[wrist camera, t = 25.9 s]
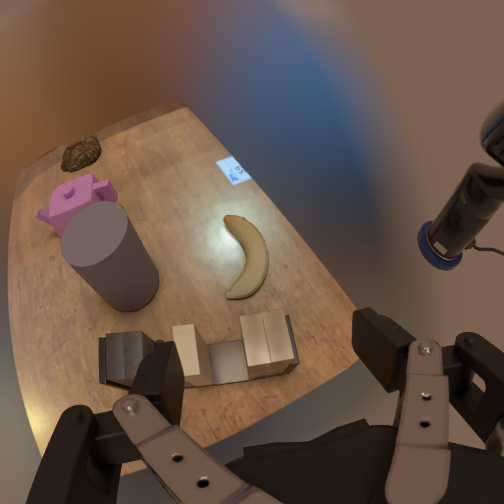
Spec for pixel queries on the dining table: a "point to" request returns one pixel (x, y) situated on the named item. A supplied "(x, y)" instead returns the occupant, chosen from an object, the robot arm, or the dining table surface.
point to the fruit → (248, 257)
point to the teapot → (75, 200)
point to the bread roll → (80, 153)
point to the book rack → (210, 353)
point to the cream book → (193, 355)
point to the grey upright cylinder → (110, 256)
